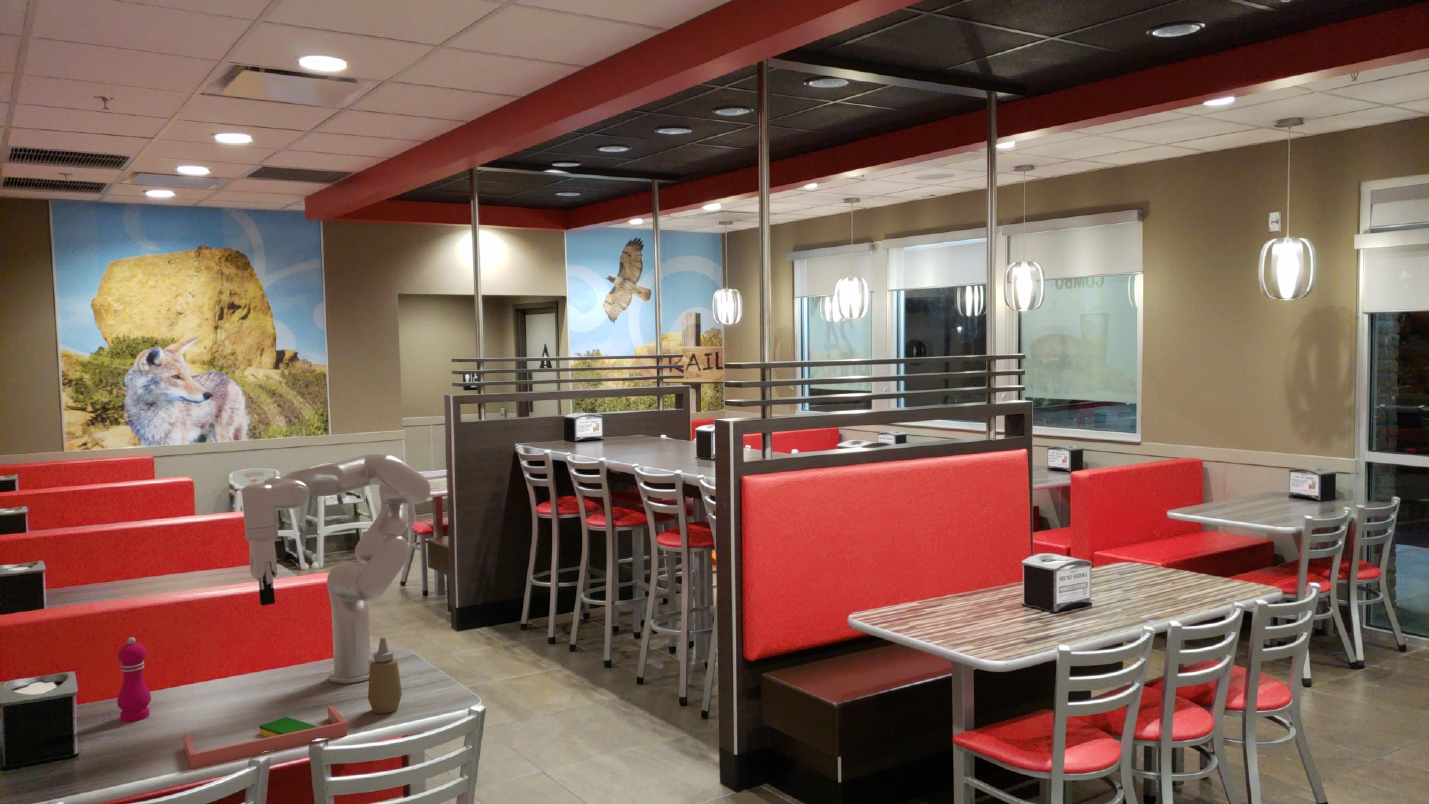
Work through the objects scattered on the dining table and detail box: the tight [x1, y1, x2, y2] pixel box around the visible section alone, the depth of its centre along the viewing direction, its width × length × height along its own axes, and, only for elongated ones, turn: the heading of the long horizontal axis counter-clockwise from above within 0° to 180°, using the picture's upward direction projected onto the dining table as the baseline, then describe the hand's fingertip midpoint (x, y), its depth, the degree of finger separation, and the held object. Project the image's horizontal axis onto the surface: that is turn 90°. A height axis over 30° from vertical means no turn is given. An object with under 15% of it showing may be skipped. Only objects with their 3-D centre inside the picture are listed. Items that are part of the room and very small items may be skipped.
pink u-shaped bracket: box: [183, 705, 348, 770], centre depth 228 cm, size 32×14×3 cm, turn 123°
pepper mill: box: [116, 636, 152, 723], centre depth 246 cm, size 7×7×20 cm
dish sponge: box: [258, 716, 319, 738], centre depth 232 cm, size 7×14×2 cm, turn 56°
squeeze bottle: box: [367, 637, 403, 714], centre depth 247 cm, size 8×8×18 cm
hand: (267, 603), depth 254 cm, fingers closed
